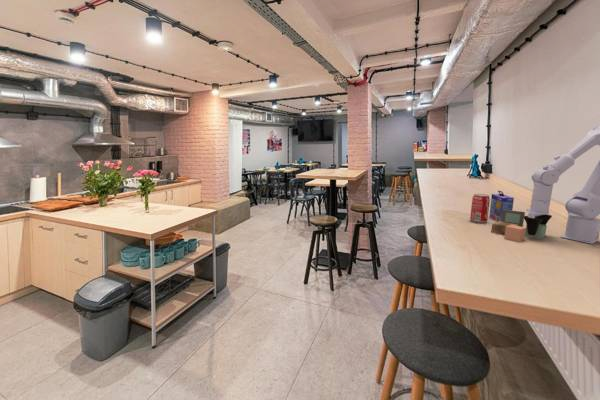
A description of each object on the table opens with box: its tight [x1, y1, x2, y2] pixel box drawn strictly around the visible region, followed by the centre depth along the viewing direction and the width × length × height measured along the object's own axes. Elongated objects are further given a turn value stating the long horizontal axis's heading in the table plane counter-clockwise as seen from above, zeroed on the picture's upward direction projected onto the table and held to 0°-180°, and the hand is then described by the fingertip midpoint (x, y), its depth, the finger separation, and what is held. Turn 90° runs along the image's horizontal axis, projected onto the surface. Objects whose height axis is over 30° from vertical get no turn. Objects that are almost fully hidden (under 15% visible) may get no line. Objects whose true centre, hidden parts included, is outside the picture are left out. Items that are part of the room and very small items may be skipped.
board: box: [501, 209, 526, 227], centre depth 129 cm, size 5×8×8 cm, turn 51°
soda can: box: [470, 193, 491, 224], centre depth 138 cm, size 7×7×13 cm
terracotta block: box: [503, 225, 526, 243], centre depth 113 cm, size 5×5×5 cm
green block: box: [525, 224, 547, 240], centre depth 117 cm, size 5×5×5 cm
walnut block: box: [490, 221, 518, 236], centre depth 122 cm, size 7×7×4 cm
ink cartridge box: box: [488, 190, 515, 222], centre depth 141 cm, size 10×6×14 cm, turn 174°
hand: (535, 233), depth 117 cm, fingers open, 7 cm apart
